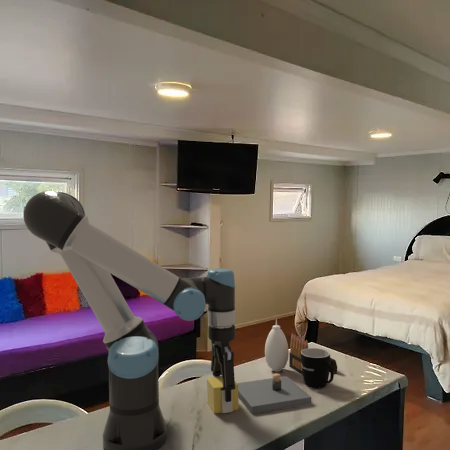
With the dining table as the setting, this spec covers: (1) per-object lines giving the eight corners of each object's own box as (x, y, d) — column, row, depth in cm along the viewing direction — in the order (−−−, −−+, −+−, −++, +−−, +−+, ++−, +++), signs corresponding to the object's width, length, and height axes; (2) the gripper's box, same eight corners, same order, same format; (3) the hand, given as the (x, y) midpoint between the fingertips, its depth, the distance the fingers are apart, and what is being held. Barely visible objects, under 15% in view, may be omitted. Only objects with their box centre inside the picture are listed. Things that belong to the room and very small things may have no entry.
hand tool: (297, 358, 159) (297, 346, 159) (306, 356, 161) (306, 344, 160) (330, 376, 142) (330, 362, 142) (339, 374, 143) (339, 360, 143)
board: (251, 414, 116) (251, 390, 116) (232, 390, 132) (232, 369, 131) (311, 404, 122) (311, 381, 121) (286, 382, 137) (286, 362, 137)
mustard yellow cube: (214, 413, 117) (213, 388, 117) (207, 402, 124) (206, 378, 123) (238, 409, 119) (238, 384, 119) (230, 399, 126) (230, 375, 125)
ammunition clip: (310, 376, 141) (310, 340, 141) (305, 377, 141) (305, 341, 140) (293, 365, 151) (293, 331, 151) (289, 366, 151) (288, 332, 150)
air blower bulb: (292, 370, 147) (292, 317, 146) (280, 377, 141) (279, 322, 141) (274, 364, 152) (273, 314, 152) (260, 371, 146) (260, 318, 146)
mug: (295, 382, 136) (294, 351, 136) (316, 376, 141) (316, 346, 141) (321, 396, 126) (321, 362, 126) (343, 389, 131) (343, 356, 130)
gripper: (247, 333, 112) (248, 420, 112) (223, 314, 131) (224, 388, 132) (219, 336, 109) (220, 424, 110) (199, 317, 129) (200, 392, 130)
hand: (222, 405), depth 121 cm, fingers open, 8 cm apart
